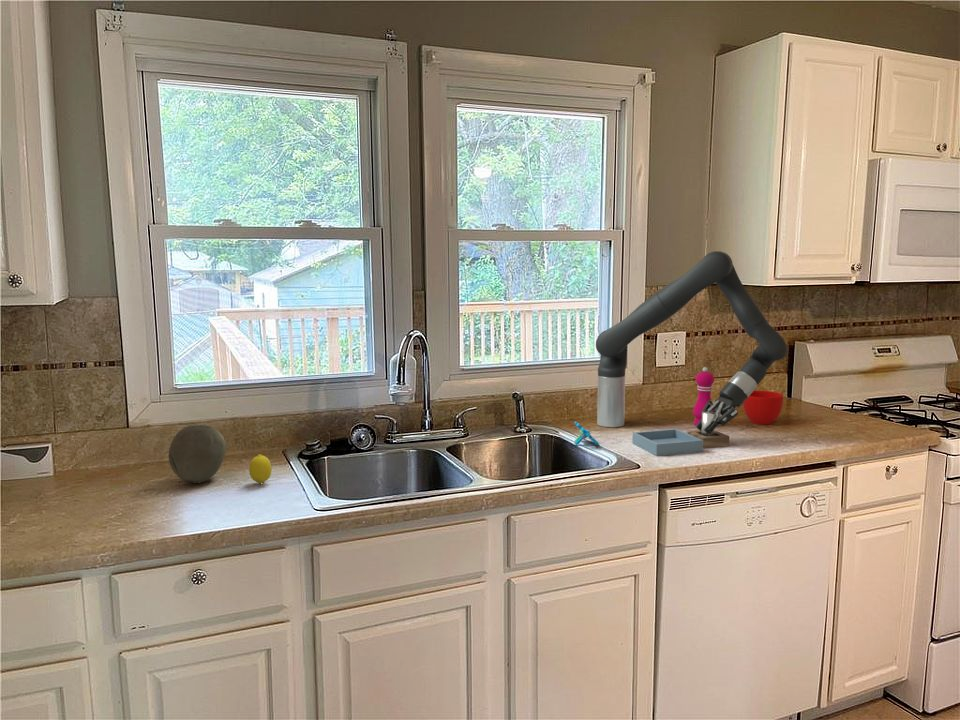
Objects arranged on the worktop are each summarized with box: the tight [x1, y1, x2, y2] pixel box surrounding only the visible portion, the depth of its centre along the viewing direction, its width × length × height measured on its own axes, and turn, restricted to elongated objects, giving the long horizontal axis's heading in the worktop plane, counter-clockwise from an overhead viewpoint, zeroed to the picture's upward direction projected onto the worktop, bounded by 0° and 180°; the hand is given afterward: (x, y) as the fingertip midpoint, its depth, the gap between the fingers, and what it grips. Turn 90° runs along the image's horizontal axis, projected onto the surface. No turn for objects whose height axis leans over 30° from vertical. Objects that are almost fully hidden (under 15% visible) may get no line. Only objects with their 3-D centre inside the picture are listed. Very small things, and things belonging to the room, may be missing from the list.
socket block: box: [686, 430, 730, 449], centre depth 219 cm, size 9×9×3 cm
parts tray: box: [631, 428, 704, 457], centre depth 215 cm, size 15×15×4 cm
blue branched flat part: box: [574, 421, 599, 447], centre depth 219 cm, size 11×6×10 cm
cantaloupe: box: [168, 424, 227, 484], centre depth 188 cm, size 14×14×15 cm
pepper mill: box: [692, 366, 715, 426], centre depth 242 cm, size 7×7×20 cm
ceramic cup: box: [742, 390, 784, 426], centre depth 246 cm, size 13×17×10 cm
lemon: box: [248, 454, 272, 484], centre depth 185 cm, size 6×6×8 cm
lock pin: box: [701, 412, 716, 436], centre depth 219 cm, size 4×4×10 cm
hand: (702, 430), depth 218 cm, fingers closed on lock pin, 4 cm apart
